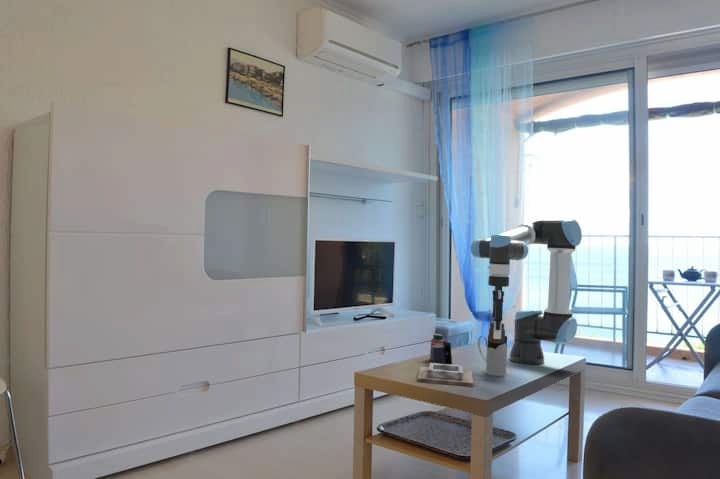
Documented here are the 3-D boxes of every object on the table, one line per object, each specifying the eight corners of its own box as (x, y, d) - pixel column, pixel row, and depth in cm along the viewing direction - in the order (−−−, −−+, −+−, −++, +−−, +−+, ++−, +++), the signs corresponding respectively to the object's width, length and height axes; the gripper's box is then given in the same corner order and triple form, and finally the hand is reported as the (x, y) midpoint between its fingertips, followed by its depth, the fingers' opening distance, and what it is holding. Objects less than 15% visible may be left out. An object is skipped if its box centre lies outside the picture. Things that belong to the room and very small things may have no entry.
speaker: (449, 363, 228) (448, 339, 228) (452, 367, 222) (451, 342, 222) (431, 364, 228) (430, 340, 228) (434, 368, 222) (433, 343, 222)
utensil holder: (506, 344, 199) (507, 311, 199) (489, 343, 199) (490, 310, 199) (502, 341, 205) (503, 309, 205) (486, 340, 205) (487, 308, 205)
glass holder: (497, 376, 210) (499, 338, 210) (469, 368, 221) (471, 332, 222) (511, 374, 215) (513, 337, 215) (484, 367, 226) (486, 331, 227)
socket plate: (471, 373, 213) (471, 364, 213) (473, 386, 193) (473, 376, 193) (420, 369, 216) (420, 360, 216) (417, 381, 196) (417, 371, 196)
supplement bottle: (427, 360, 235) (428, 334, 235) (433, 358, 240) (434, 332, 240) (440, 362, 231) (441, 336, 232) (445, 360, 236) (447, 334, 237)
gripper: (487, 273, 212) (484, 332, 212) (490, 276, 193) (487, 340, 193) (506, 274, 210) (504, 333, 210) (512, 277, 192) (509, 342, 192)
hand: (496, 337), depth 202 cm, fingers closed on utensil holder, 6 cm apart
